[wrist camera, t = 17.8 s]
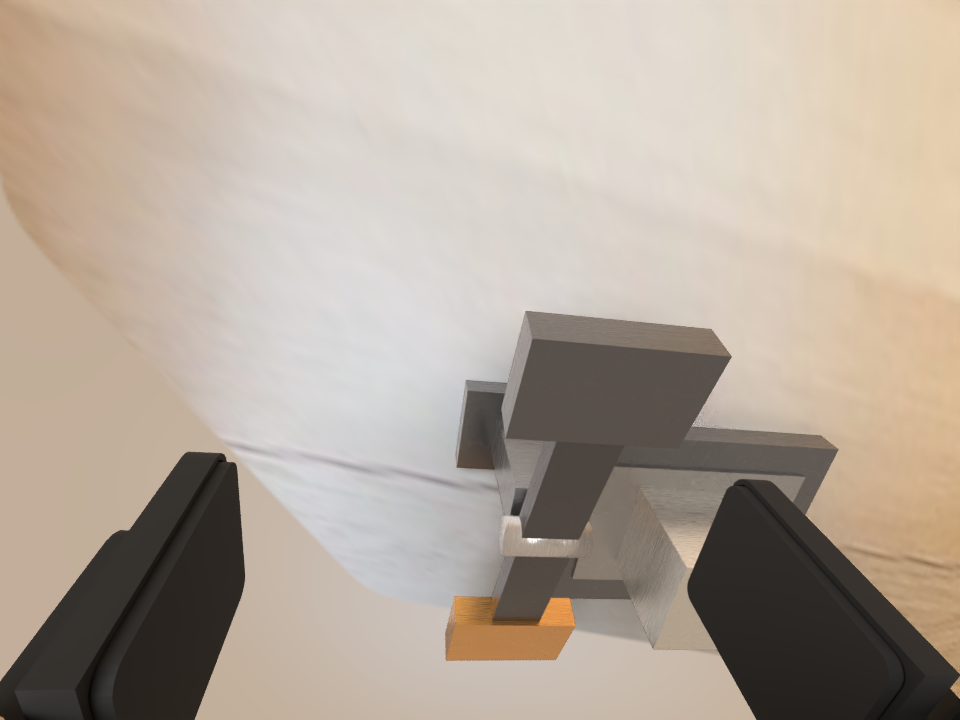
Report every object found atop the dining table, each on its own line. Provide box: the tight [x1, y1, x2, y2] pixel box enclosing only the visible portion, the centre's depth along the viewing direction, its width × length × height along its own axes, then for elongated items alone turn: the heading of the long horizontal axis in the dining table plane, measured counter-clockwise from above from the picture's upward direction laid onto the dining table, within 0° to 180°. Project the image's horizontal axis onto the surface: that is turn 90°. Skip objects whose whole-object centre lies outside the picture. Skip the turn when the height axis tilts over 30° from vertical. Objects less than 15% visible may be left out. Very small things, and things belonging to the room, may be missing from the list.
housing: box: [615, 488, 725, 650], centre depth 28 cm, size 8×6×8 cm
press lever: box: [445, 311, 732, 661], centre depth 21 cm, size 6×21×2 cm, turn 172°
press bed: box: [456, 380, 839, 599], centre depth 29 cm, size 23×15×7 cm, turn 82°
